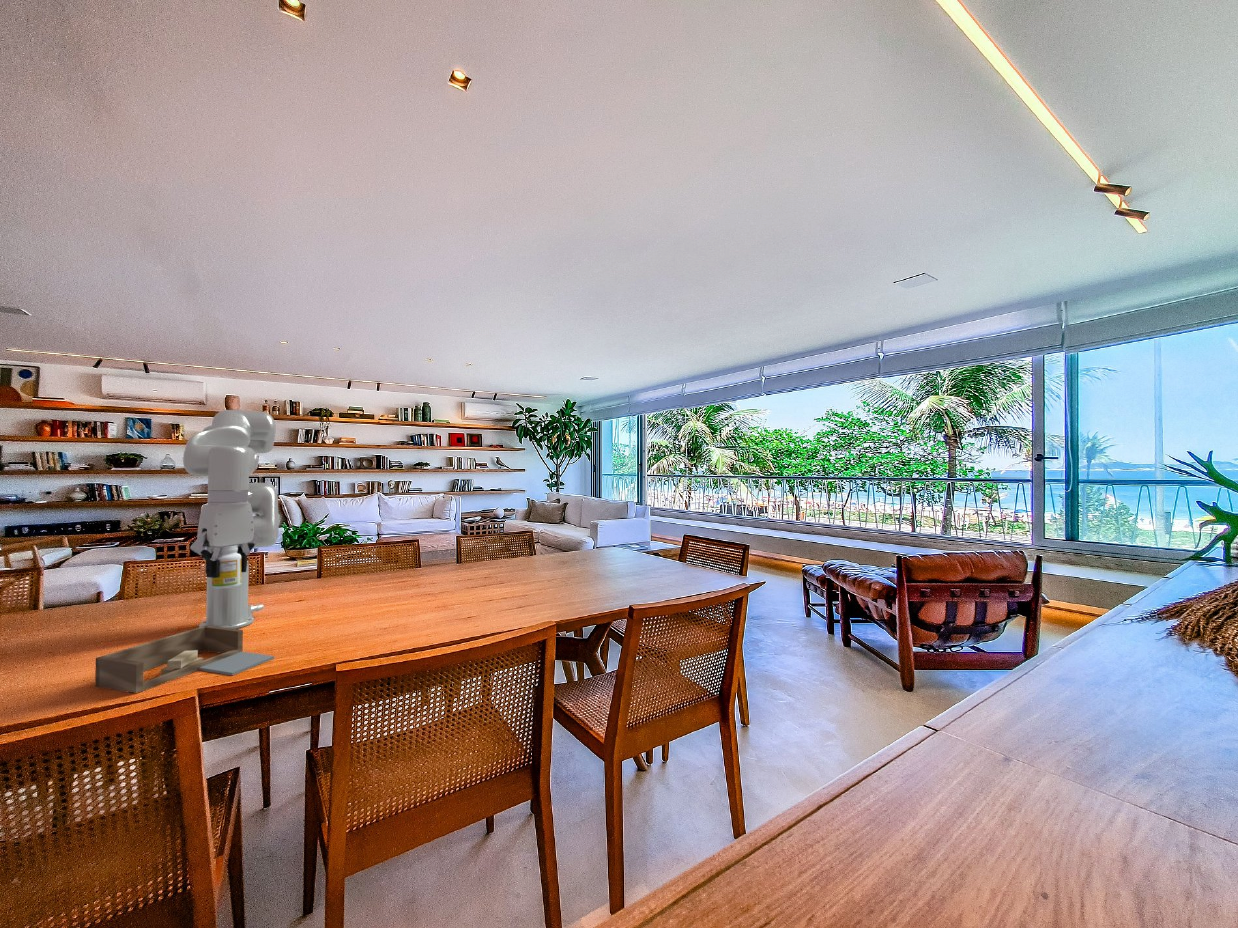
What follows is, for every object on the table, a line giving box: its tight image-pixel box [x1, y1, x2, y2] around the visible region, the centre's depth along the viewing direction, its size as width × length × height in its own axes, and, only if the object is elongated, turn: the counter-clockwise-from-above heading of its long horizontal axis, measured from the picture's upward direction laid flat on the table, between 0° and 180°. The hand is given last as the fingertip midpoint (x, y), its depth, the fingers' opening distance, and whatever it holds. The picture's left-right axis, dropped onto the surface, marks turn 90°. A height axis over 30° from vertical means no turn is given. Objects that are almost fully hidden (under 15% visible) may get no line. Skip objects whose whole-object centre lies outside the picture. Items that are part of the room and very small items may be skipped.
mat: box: [198, 651, 275, 676], centre depth 115 cm, size 10×10×1 cm
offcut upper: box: [166, 650, 199, 669], centre depth 111 cm, size 6×3×2 cm, turn 13°
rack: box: [94, 625, 244, 694], centre depth 112 cm, size 22×12×6 cm, turn 166°
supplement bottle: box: [212, 545, 241, 589], centre depth 115 cm, size 5×5×10 cm
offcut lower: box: [160, 657, 204, 676], centre depth 111 cm, size 7×3×2 cm, turn 170°
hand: (226, 573), depth 115 cm, fingers closed on supplement bottle, 5 cm apart
